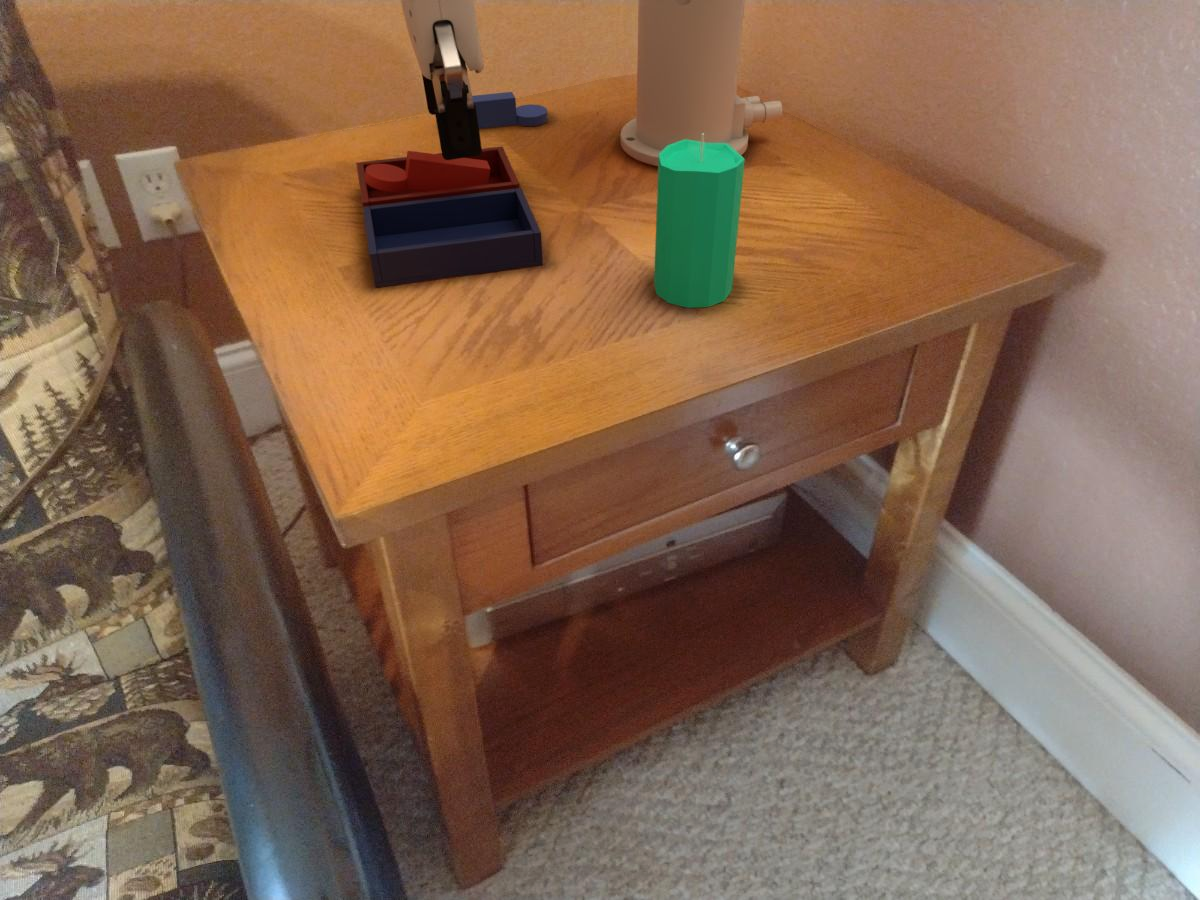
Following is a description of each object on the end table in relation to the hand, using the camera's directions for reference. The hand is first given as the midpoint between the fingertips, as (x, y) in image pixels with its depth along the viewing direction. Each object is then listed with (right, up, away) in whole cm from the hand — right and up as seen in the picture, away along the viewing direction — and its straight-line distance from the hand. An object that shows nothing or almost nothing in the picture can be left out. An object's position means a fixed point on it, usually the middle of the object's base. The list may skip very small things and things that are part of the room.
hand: (454, 132), depth 78 cm
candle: (+20, -15, -8) cm, 26 cm away
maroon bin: (-2, -5, +3) cm, 6 cm away
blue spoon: (+2, +7, +17) cm, 19 cm away
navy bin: (0, -11, -3) cm, 11 cm away
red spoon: (-3, -4, +2) cm, 5 cm away
